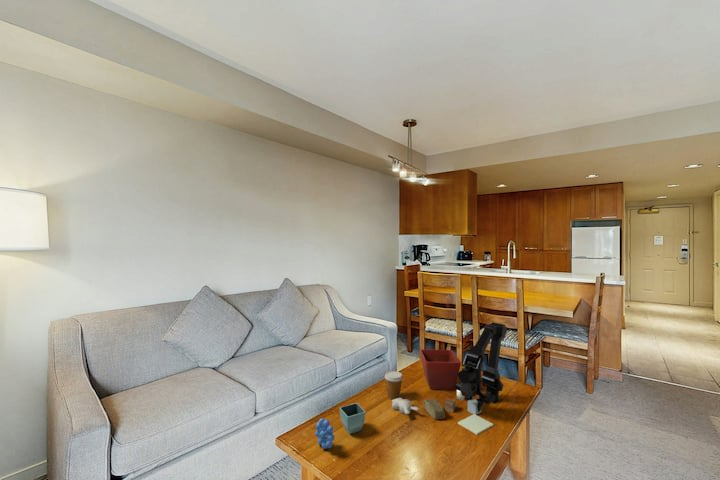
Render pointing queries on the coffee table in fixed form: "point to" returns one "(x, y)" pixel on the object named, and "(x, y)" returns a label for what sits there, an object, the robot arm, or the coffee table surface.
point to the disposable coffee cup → (393, 384)
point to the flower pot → (352, 417)
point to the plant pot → (440, 368)
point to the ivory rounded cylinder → (460, 395)
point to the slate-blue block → (473, 406)
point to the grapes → (324, 433)
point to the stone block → (434, 409)
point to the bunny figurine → (403, 405)
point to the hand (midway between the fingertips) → (474, 409)
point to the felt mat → (475, 424)
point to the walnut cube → (450, 405)
